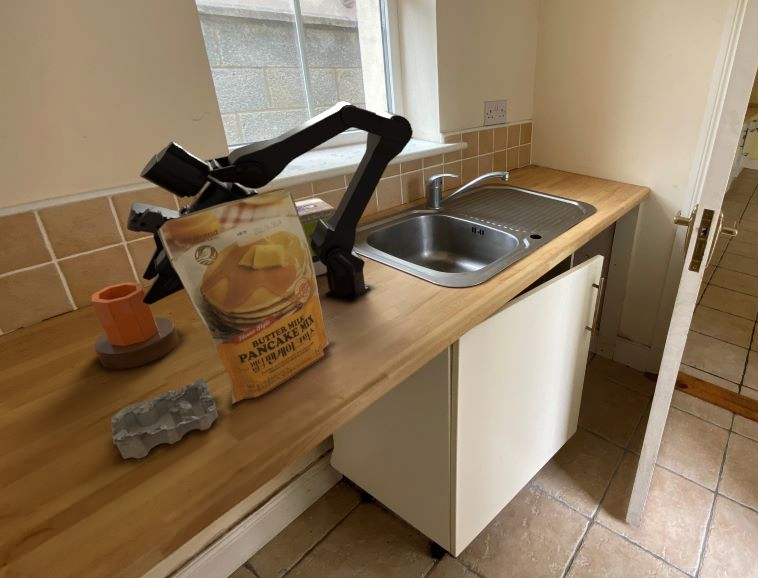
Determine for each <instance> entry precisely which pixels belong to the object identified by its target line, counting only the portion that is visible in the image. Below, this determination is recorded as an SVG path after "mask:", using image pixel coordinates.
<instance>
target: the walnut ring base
mask: <svg viewBox="0 0 758 578" xmlns="http://www.w3.org/2000/svg"><path fill="white" fill-rule="evenodd" d="M155 318H156V321H157V323H158V329H159V331H158V333H156V334H155V335H153V336H152V337H150V338H149V339H147V340H145V341H142V342H138V343H135V344H131V345H128V346H119V345H111V344H110V342H109V339H108V337H107V335H106V333H105V332H104V333H103V334H101V335H100V336H99V337H98V338H97V339H96V340H95V342H94V345H93V348H94V351H95V352H96V355H97V357H98V359H99V361H100V363H101V364H102V366H103V367H105V368H107V369H112V370H125V369H132V368H136V367H140V366H144V365H147V364H150V363H152V362H154V361H156V360H157V361H158V360H159V359H161V358H163V357H165V356H166V355H168V354H169V353H170V352H172V351H173V350H174V349H175V348H176V347H177V345H178V343H179V340H180V339H179V335H178V333H177V330H176V327H175V325H174V322H173V321H172V320H171V319H170V318H166V317H158V316H155Z"/></svg>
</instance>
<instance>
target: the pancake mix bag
mask: <svg viewBox="0 0 758 578" xmlns="http://www.w3.org/2000/svg"><path fill="white" fill-rule="evenodd" d="M295 202H296V201H295V199H294V197H293V194H292V191H287V192H285V188H284V187H283V188H277V189H276V188H275V189H272V190H269V191H266V192H261V193H258V195H255V196H252V197H248V198H245V199H240V200H235V201H231V202H226V203H223V204H219V205H216V206H213V207H209V208H206V209H203V210H199V211H196V212H193V213H190V214H187V215H184V216H180V217H178V218H175V219H172V220H169V221H166V222H165V224H164V225H163V226H162V227H161V228H160V229H159V230H158V231H157V232H158V234H159V237H160V239H161V242H162V244H163V247H164V249H165V251H166V254H167V256H168V258H169V260H170V263H171V265H172V267H173V268H174V270H175V271H176V273H177V274H178V275H179V277H180V279H181V282H182V284H183V286H184V290H185V292H186V294H187V296H188V297H187V298H188V299H189V301H190V303H191V305H192V307H193V308H194V310H195V312H196V313H197V315H198V317H199V319H200V320H201V321H202V323H203V325H204V326H205V328H206V329H207V330H208V332H209V335H210V337H211V340H212V343H213V346H214V349H215V351H216V354H217V357H218V359H219V360H220V361H221V363H222V364H223V366H224V368H225V370H226V372H227V375H228V377H229V380H230V385H231V404H236V403H237V402H239V401H242V400H244V399H257V398H259V397H260V396H263V395H265V394H267V393H269V392H270V391H272V390H273V389H275V388H276V387H279V386H280V385H281V384H283V383H285V382H286V381H288V380H289V379H291V378H293V377H294V376H296V375H297V374H298V373H300V372H301V371H303V370H305V369H306V368H308V367H309V366H311V365H313V364H315V363H316V362H317V361H319V360H320V359H321V358H323V357H325V353H324V350H325V349H326V348H327V347H328V346H329V345H330V342H329V340H328V338H327V336H326V333H325V323H324V317H323V308H322V306H321V301H320V295H319V288H318V287H319V286H318V282H317V276H316V275H315V268H314V265H313V262H312V256H311V250H310V247H309V243H308V240H307V237H306V234H305V231H304V228H303V225H302V222H301V220H300V217H299V213H298V209H297V206H296V204H295Z"/></svg>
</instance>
